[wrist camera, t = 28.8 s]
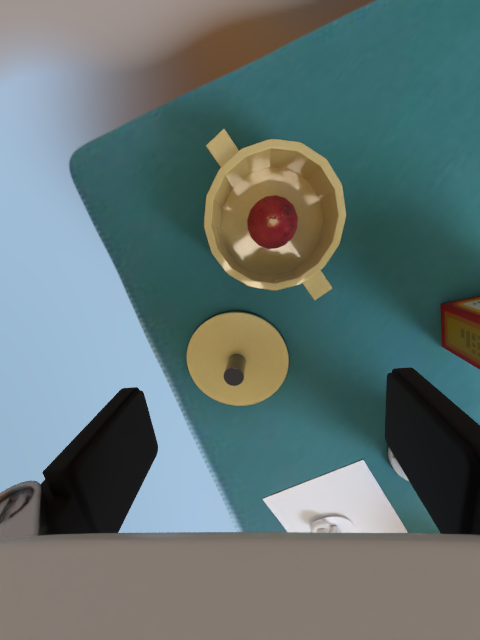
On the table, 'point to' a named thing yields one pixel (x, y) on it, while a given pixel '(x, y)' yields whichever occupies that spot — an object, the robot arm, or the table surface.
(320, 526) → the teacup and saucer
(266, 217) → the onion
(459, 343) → the baking soda box
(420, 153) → the table surface
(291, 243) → the pot
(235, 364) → the lid
